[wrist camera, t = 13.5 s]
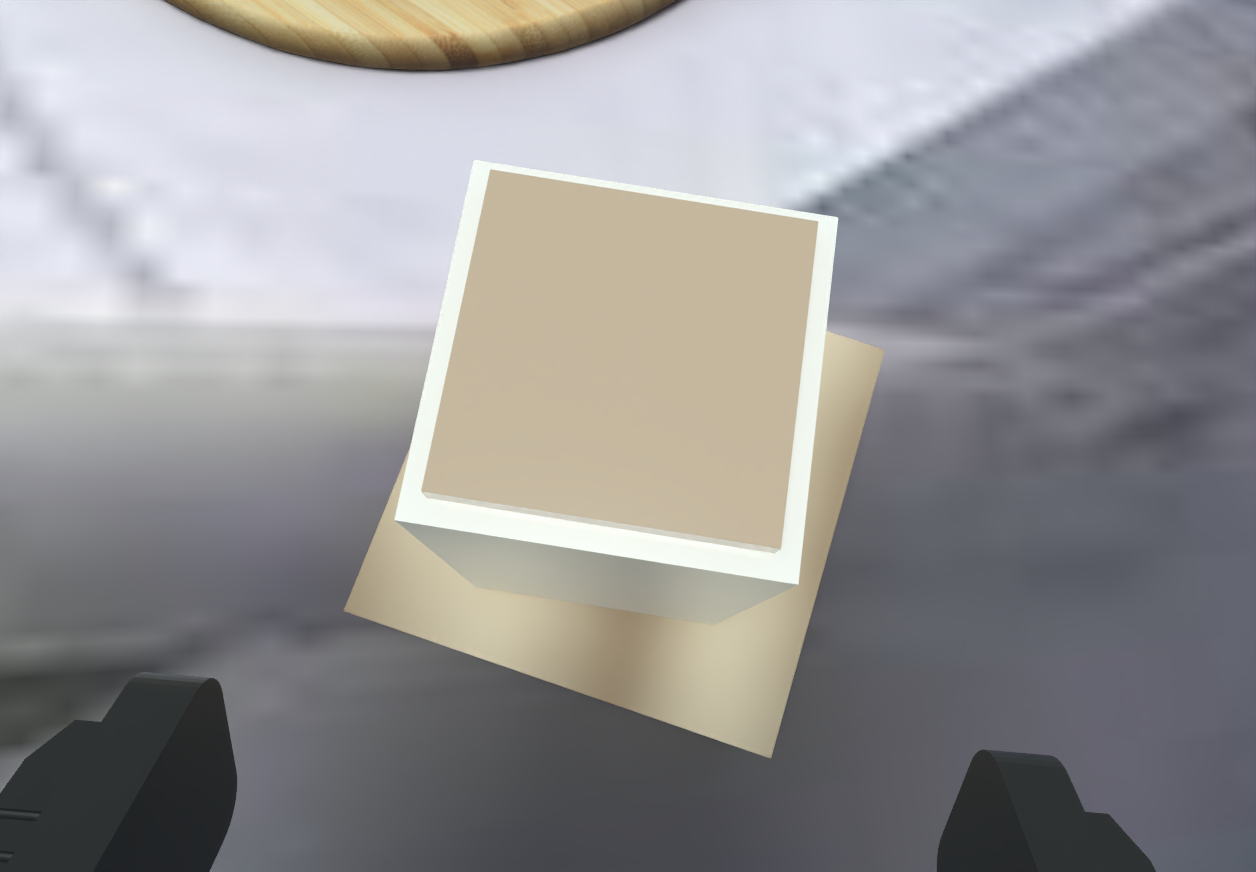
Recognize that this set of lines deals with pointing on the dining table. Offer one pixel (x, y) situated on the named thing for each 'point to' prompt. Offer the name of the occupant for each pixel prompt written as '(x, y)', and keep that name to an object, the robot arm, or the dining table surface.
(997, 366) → the dining table surface
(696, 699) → the pale gold metal block
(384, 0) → the wooden plate with food
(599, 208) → the white square container
